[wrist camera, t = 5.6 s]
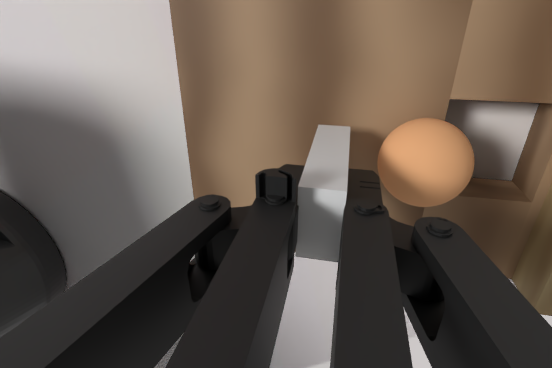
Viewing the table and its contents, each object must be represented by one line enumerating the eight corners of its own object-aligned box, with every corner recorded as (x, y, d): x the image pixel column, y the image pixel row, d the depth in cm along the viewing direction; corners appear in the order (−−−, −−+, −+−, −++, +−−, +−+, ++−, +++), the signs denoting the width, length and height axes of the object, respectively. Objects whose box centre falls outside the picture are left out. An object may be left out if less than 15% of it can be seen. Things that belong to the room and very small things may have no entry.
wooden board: (212, 219, 25) (182, 263, 21) (188, -18, 18) (137, -28, 14) (548, 258, 21) (599, 322, 17) (679, -25, 14) (824, -41, 10)
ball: (482, 214, 15) (420, 177, 19) (510, 128, 13) (435, 104, 17) (408, 232, 14) (356, 189, 17) (427, 140, 12) (365, 112, 16)
